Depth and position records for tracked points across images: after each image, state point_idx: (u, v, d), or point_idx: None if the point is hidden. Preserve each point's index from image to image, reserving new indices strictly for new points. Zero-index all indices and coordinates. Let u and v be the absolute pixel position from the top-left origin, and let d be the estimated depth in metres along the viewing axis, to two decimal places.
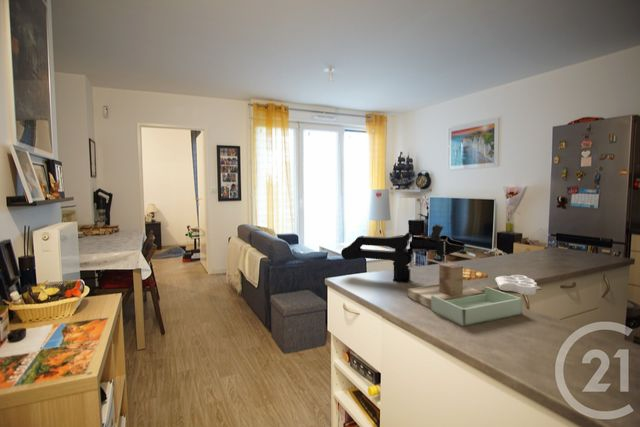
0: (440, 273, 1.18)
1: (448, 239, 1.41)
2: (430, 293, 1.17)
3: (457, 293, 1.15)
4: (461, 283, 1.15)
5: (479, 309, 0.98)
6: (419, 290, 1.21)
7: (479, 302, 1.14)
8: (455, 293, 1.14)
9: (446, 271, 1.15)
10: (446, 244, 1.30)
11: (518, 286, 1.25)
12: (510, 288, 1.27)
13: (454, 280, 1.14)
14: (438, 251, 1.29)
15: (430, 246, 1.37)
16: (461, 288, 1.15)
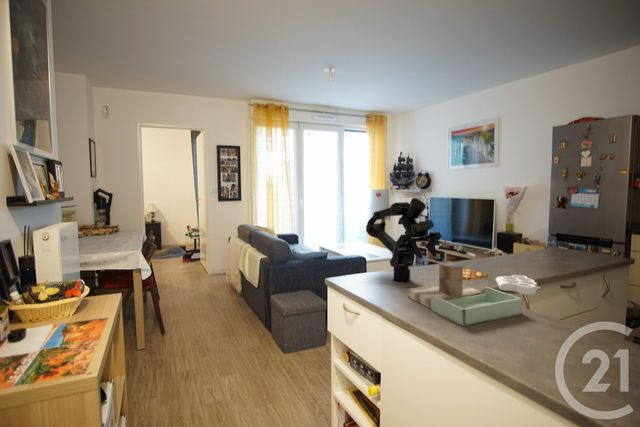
0: (440, 273, 1.18)
1: (430, 240, 1.32)
2: (430, 293, 1.17)
3: (457, 293, 1.15)
4: (461, 283, 1.15)
5: (479, 309, 0.98)
6: (419, 290, 1.21)
7: (479, 302, 1.14)
8: (455, 293, 1.14)
9: (446, 271, 1.15)
10: (410, 242, 1.28)
11: (518, 286, 1.25)
12: (510, 288, 1.27)
13: (454, 280, 1.14)
14: (397, 241, 1.31)
15: (407, 231, 1.35)
16: (461, 288, 1.15)
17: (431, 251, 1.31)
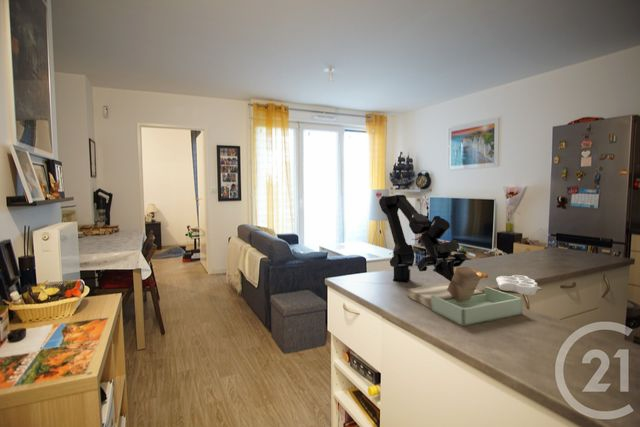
0: (454, 276, 1.12)
1: (448, 264, 1.18)
2: (430, 293, 1.17)
3: (465, 299, 1.11)
4: (472, 291, 1.10)
5: (479, 309, 0.98)
6: (419, 290, 1.21)
7: (479, 302, 1.14)
8: (462, 299, 1.11)
9: (461, 279, 1.09)
10: (440, 265, 1.17)
11: (518, 286, 1.25)
12: (510, 288, 1.27)
13: (466, 290, 1.08)
14: (418, 264, 1.19)
15: (429, 252, 1.23)
16: (470, 295, 1.11)
17: None
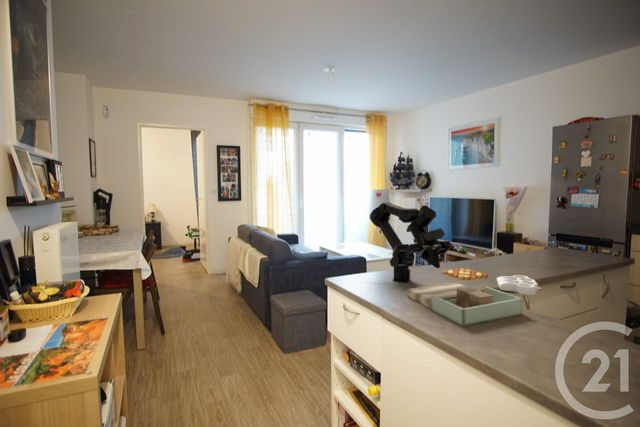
0: (472, 296, 1.05)
1: (434, 250, 1.25)
2: (430, 293, 1.17)
3: None
4: None
5: (479, 309, 0.98)
6: (419, 290, 1.21)
7: None
8: None
9: None
10: (426, 251, 1.24)
11: (518, 286, 1.25)
12: (510, 288, 1.27)
13: None
14: (406, 251, 1.26)
15: (416, 240, 1.30)
16: None
17: None
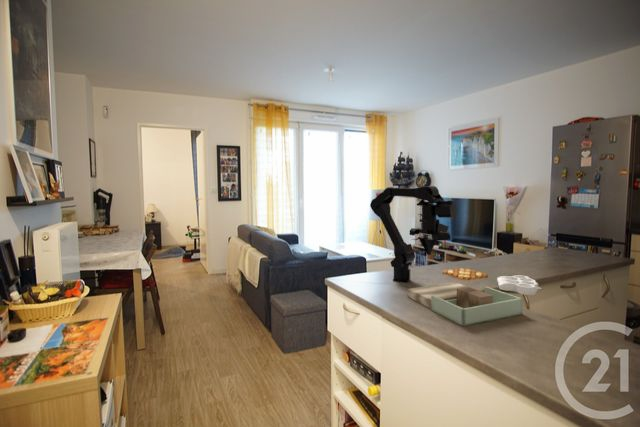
0: (472, 296, 1.05)
1: None
2: (430, 293, 1.17)
3: None
4: None
5: (479, 309, 0.98)
6: (419, 290, 1.21)
7: None
8: None
9: None
10: (436, 239, 1.32)
11: (518, 286, 1.25)
12: (510, 288, 1.27)
13: None
14: (442, 235, 1.25)
15: (432, 223, 1.31)
16: None
17: None
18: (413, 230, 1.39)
